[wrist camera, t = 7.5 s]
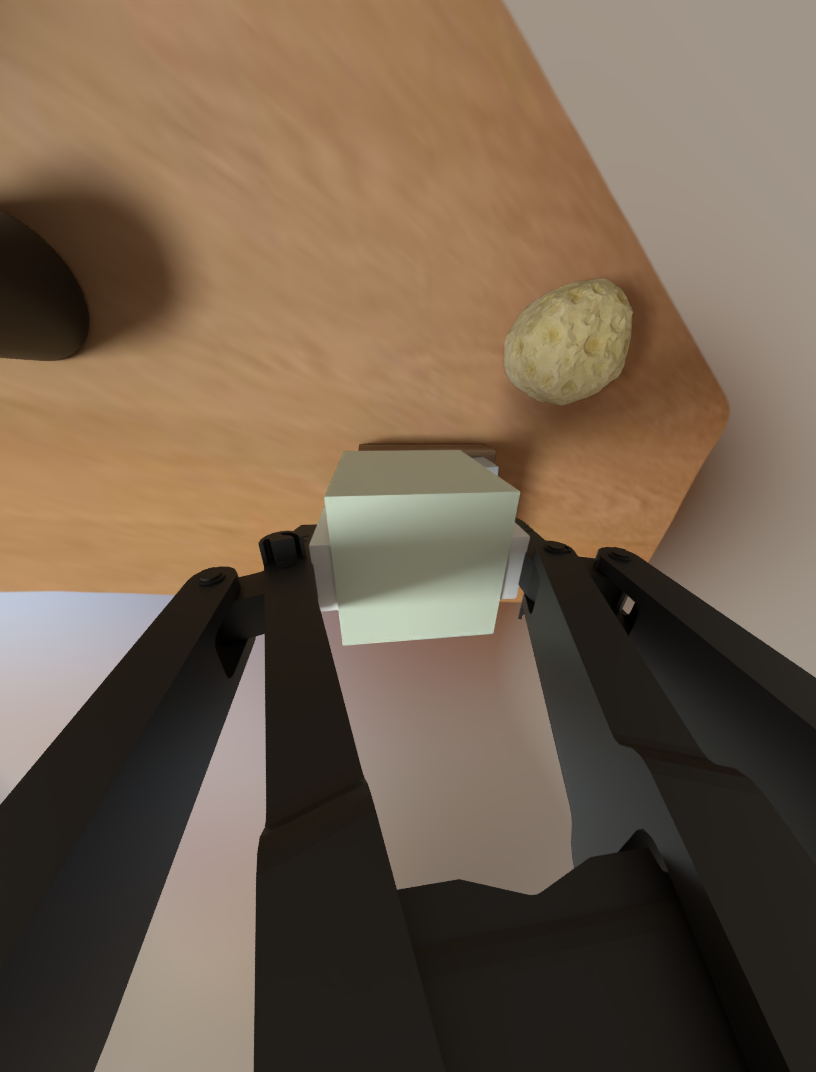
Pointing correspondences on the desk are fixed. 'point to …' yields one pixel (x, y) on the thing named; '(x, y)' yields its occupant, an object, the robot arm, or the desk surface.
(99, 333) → the desk surface
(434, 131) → the desk surface
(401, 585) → the block
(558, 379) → the decorative item
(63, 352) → the mug
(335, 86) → the desk surface
